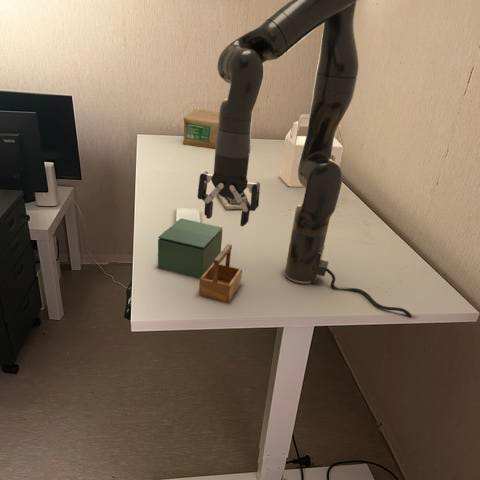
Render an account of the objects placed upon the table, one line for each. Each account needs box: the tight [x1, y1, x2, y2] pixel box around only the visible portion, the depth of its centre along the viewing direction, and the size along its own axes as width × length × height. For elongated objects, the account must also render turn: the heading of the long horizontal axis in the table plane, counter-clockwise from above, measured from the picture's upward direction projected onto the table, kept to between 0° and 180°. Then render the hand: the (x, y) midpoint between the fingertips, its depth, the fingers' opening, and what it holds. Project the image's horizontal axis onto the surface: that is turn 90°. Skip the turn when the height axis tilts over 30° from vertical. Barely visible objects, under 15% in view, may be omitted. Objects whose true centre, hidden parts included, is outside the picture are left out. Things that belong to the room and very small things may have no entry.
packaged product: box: [217, 194, 243, 210], centre depth 176 cm, size 18×5×10 cm
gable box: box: [279, 113, 344, 188], centre depth 199 cm, size 22×13×28 cm, turn 103°
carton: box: [157, 226, 223, 279], centre depth 130 cm, size 15×13×9 cm
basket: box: [198, 243, 243, 304], centre depth 118 cm, size 10×8×11 cm
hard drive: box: [175, 207, 202, 223], centre depth 158 cm, size 2×8×12 cm
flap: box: [170, 218, 223, 238], centre depth 130 cm, size 7×13×1 cm, turn 72°
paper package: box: [183, 108, 219, 149], centre depth 244 cm, size 27×26×14 cm
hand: (225, 221), depth 110 cm, fingers open, 8 cm apart
